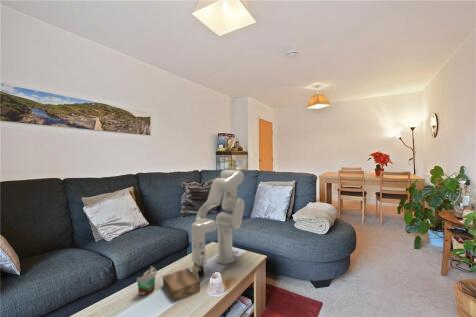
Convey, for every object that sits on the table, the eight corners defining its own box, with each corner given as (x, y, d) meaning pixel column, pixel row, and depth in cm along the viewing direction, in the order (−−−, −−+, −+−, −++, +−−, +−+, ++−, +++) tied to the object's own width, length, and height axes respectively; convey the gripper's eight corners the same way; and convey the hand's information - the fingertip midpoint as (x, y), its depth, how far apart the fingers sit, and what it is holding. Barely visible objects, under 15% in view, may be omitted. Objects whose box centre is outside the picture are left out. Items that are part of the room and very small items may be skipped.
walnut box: (187, 276, 131) (187, 268, 131) (200, 290, 118) (200, 280, 118) (162, 285, 123) (162, 276, 123) (173, 301, 110) (173, 291, 109)
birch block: (201, 272, 136) (200, 262, 136) (204, 276, 132) (204, 266, 131) (193, 275, 133) (193, 265, 133) (197, 279, 129) (196, 268, 129)
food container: (148, 299, 112) (147, 279, 112) (137, 297, 113) (136, 277, 113) (161, 284, 124) (160, 266, 124) (151, 283, 125) (150, 265, 125)
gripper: (211, 246, 127) (212, 278, 128) (197, 237, 141) (198, 266, 141) (199, 250, 123) (200, 283, 123) (186, 240, 136) (187, 270, 137)
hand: (199, 274), depth 132 cm, fingers closed on birch block, 5 cm apart
